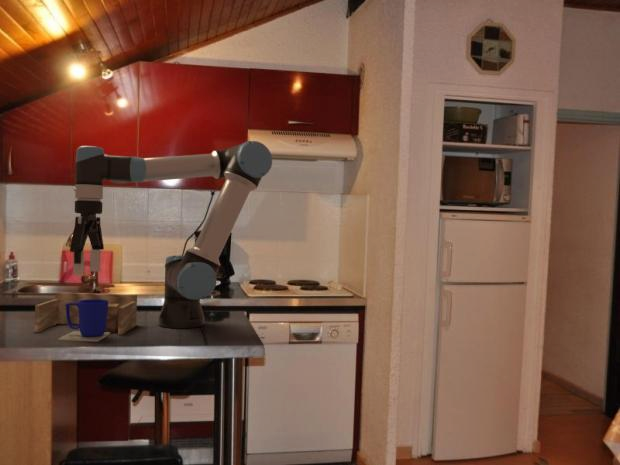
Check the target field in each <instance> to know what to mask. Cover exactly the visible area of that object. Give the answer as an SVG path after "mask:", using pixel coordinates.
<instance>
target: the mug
mask: <svg viewBox="0 0 620 465" xmlns="http://www.w3.org/2000/svg"><path fill="white" fill-rule="evenodd" d="M69 305H76V306H77V307H78V311H79V324H78V326H74V324H72V323H71V320H70V312H69ZM107 311H108V301H107V300H101V299H89V300H81V301H79V302H78V303H67V304H66V315H67V322H68V324H67V325H68V326H69V328H70V329H72V330H79V331H80V333H81V335H82V336H86V337H97V336H101V335H103V334H104V333H105V330H106V320H107Z"/></svg>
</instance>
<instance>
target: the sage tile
mask: <svg viewBox="0 0 620 465" xmlns="http://www.w3.org/2000/svg"><path fill="white" fill-rule="evenodd" d="M110 335H111V332H105V333H104V334H103V335H101V336H97V337H86V336H82V335H81V333H80V330H72V331H71V332H69V333H67V334H64V335H62V336H61V337H59V338H57V339H58V340H57V341H62V342H63V341H64V342H66V341H67V342H94V343H95V342H100V341H101V340H103V339H105V338H106V337H108V336H110Z"/></svg>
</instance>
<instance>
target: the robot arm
mask: <svg viewBox="0 0 620 465" xmlns="http://www.w3.org/2000/svg"><path fill="white" fill-rule="evenodd" d="M75 153H76V155H75V168H74V169H75V171H74V172H75V180H74V181H75V185H74V186H75V188H73V192H75V194H74V195H75V196H74V198H75V199H77V200H75V201H74V213H75V214H80V216H78V215H77V216H75V218H74V220H75V221H74V222H75V223H74V228H73V232H72V238H71V242H70V246H69V252H70V253H73V256H72V257H73V258H72V260H73V261H72V264H73V265H72V276H76V277H77V276H79V277H81V276H85V251H84V250H85V249H84V247H85V244H86V241H87V238H89V242H90V246H91V249H90V263H89V264H90V266H89V269H90V270H89V271H90V272H101V250H104V248H105V247H104V240H103V233H102V227H101V217H100V216H97V215H101V214H103V201H101V200H103V199H104V198H103V197H104V181H110V183H112V184H114V185H123V184H133V183H134V184H135V183H143V182H155V181H168V180H169V181H170V180H180V179H181V180H182V179H192V178H193V179H195V178H207V177H212V178H214V179H216V180H219V179H220V180H221V179H225V181H224V183H223V185H222V187H221V189H220V192H219V193H218V196H217V197H216V200H215V202H214V204H213V205H212V208H211V211H210V212H209V214H208V216H207V218H206V220H205V223H204V224H203V226H202V229H201V231H200V233H199V235H198V237H197V239H196V241H195V243H194V245H193V247H191V248H188V249H186V251H185V253H184V254H177V255H169V256H167V257H166V258H165V262H164V263H165V264H164V270H165V271H164V296H163V297H164V300H163V304H162V307H161V310H160V313H159V314H158V315H159V316H158V319H157V320H158V321H157V324H158V326H160V327H162V328H163V327H164V328H169V329H171V328H172V329H190V328H199V327H203V326H205V319H206V318H205V315H204V312H203V311H204V310H203V308H202V305H201V300H203V299H206V298H207V297H208V296H209V295H211V294H212V292H214V290H215V288H216V285H217V274H218V272H219V269H220V267H221V262H220V259H219V258H220V256H221V254H222V252H223V251H224V250H223V249H224V248H225V246H226V243H227V242H228V239H229V237H230V235H231V233H232V231H233V228H234V227H235V224H236V222H237V220H238V218H239V216H240V214H241V212H242V210H243V207H244V206H245V204H246V201H247V199H248V197H249V194H250V192H252V191H255V190H257V189H258V186H259V184H260V182H261V180H262V178H263V177H265V176H266V175H267V174H268V173H269V172H270V170H271V169H272V166H273V156H272V153H271V151H270V149H269V148H268V147H267V146H266V145H265V144H264V143H262V142H260V141H255V140H247V141H244V142H243V143H240V144H237V145H234V146H231V147H229V148H225V149H219V150H218V149H217V150H216V149H215V150H212V152H211V153H204V154H190V155H189V154H188V155H177V156H176V155H175V156H158V157H157V156H156V157H144V158H143V157H139V156H125V155H110V154H106V153H105V150H104V148H103V147H100V146H94V145H80V146H79V147H78V148H76V152H75Z"/></svg>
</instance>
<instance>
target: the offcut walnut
mask: <svg viewBox="0 0 620 465" xmlns="http://www.w3.org/2000/svg"><path fill="white" fill-rule="evenodd" d="M105 332H110V333H116V332H117V333H118V318H117V319H116V320H106V330H105Z"/></svg>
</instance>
